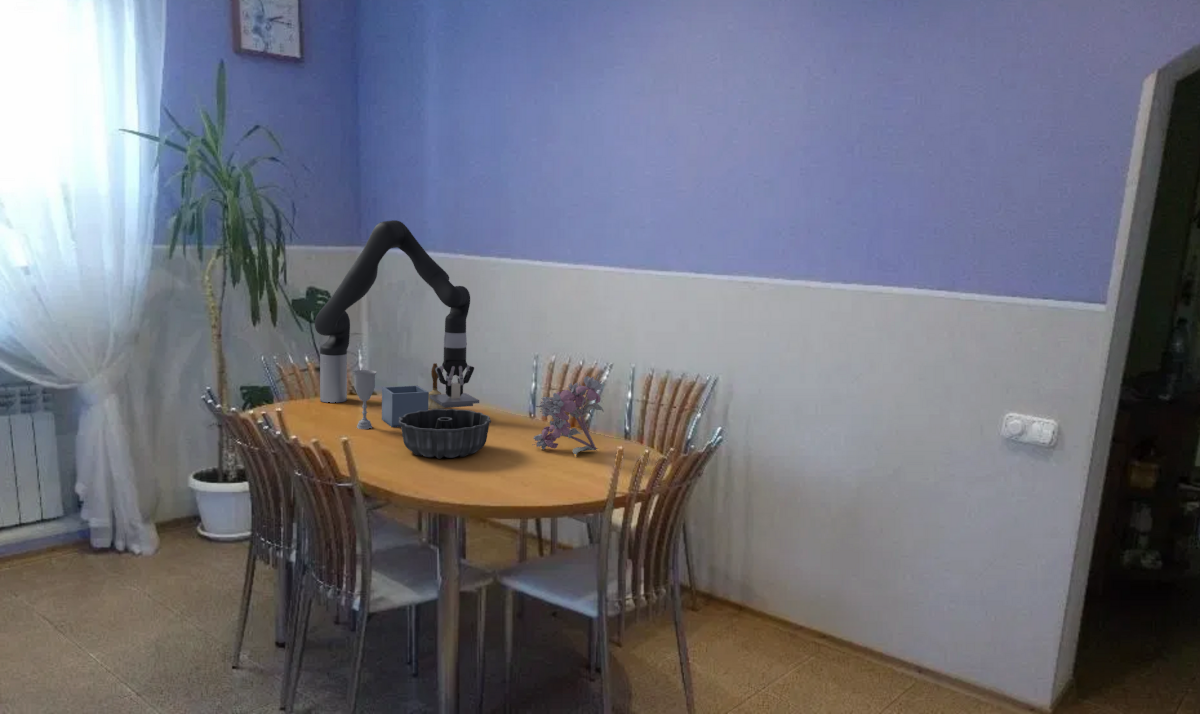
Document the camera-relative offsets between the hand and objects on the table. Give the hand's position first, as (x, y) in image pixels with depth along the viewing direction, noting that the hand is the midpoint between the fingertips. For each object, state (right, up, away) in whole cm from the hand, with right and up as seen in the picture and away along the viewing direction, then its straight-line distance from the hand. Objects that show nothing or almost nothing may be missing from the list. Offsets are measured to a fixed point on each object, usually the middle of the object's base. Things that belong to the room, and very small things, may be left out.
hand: (454, 395), depth 290 cm
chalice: (-26, -10, -17) cm, 32 cm away
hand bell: (-10, -5, +18) cm, 22 cm away
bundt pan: (+4, -15, -41) cm, 43 cm away
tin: (-15, -8, -7) cm, 19 cm away
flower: (+38, -15, -35) cm, 54 cm away
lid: (0, -3, 0) cm, 3 cm away
